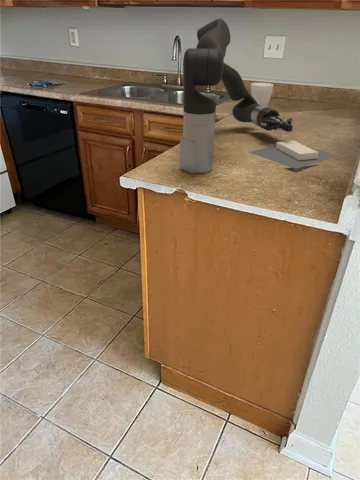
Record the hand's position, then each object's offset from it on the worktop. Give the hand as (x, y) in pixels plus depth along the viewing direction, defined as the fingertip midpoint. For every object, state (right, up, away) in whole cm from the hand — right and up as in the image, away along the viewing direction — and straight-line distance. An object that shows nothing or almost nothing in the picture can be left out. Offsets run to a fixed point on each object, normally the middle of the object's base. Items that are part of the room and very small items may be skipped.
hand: (290, 128), depth 128 cm
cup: (+2, +25, +59) cm, 64 cm away
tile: (-1, -4, +4) cm, 6 cm away
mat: (+1, -10, 0) cm, 10 cm away
